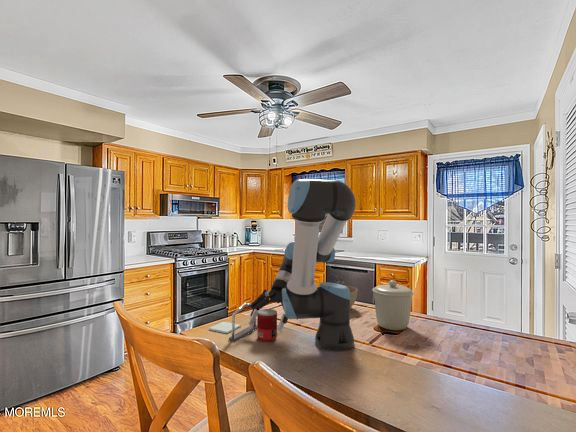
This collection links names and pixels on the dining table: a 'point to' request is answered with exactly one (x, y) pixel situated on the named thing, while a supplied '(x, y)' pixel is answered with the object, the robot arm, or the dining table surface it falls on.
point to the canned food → (267, 325)
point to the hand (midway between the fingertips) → (264, 327)
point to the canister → (393, 305)
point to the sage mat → (223, 327)
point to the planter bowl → (352, 295)
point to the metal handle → (243, 332)
